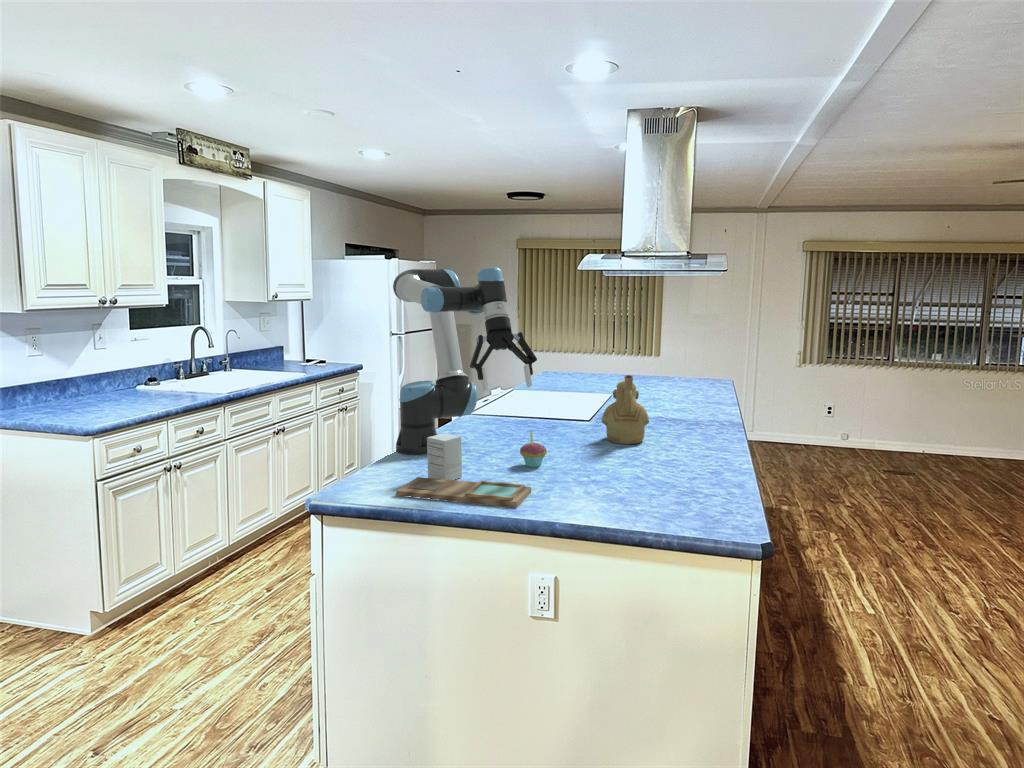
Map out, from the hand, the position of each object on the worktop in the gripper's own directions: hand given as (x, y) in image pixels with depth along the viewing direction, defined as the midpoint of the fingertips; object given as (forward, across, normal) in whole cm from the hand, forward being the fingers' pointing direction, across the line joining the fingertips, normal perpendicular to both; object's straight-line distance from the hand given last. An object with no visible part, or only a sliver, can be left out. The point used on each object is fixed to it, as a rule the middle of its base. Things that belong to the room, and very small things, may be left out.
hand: (507, 388), depth 207 cm
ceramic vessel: (+17, +55, +38) cm, 69 cm away
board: (+28, -18, -3) cm, 34 cm away
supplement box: (+23, -19, +13) cm, 33 cm away
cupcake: (+22, +11, +18) cm, 31 cm away
